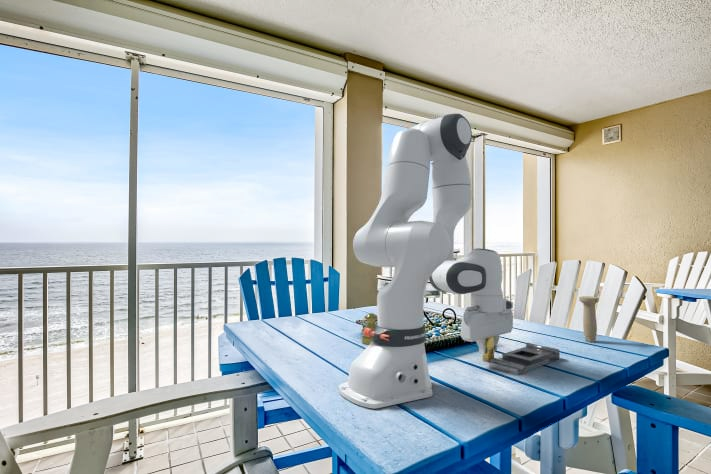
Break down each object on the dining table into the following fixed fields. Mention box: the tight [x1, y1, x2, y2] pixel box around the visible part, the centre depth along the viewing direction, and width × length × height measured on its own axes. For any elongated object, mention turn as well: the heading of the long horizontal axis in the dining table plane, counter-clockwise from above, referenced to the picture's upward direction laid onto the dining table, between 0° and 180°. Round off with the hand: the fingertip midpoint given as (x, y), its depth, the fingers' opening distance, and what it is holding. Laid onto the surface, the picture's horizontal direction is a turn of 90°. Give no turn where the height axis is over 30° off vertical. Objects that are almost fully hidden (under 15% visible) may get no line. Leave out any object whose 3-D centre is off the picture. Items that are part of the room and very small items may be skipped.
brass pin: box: [481, 337, 495, 362], centre depth 105 cm, size 3×3×7 cm
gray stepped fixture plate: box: [489, 355, 549, 376], centre depth 100 cm, size 16×9×2 cm, turn 125°
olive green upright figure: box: [360, 312, 377, 345], centre depth 127 cm, size 7×7×10 cm
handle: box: [578, 295, 600, 343], centre depth 124 cm, size 5×6×15 cm
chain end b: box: [502, 342, 561, 365], centre depth 103 cm, size 16×9×3 cm, turn 125°
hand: (488, 352), depth 105 cm, fingers closed on brass pin, 3 cm apart
